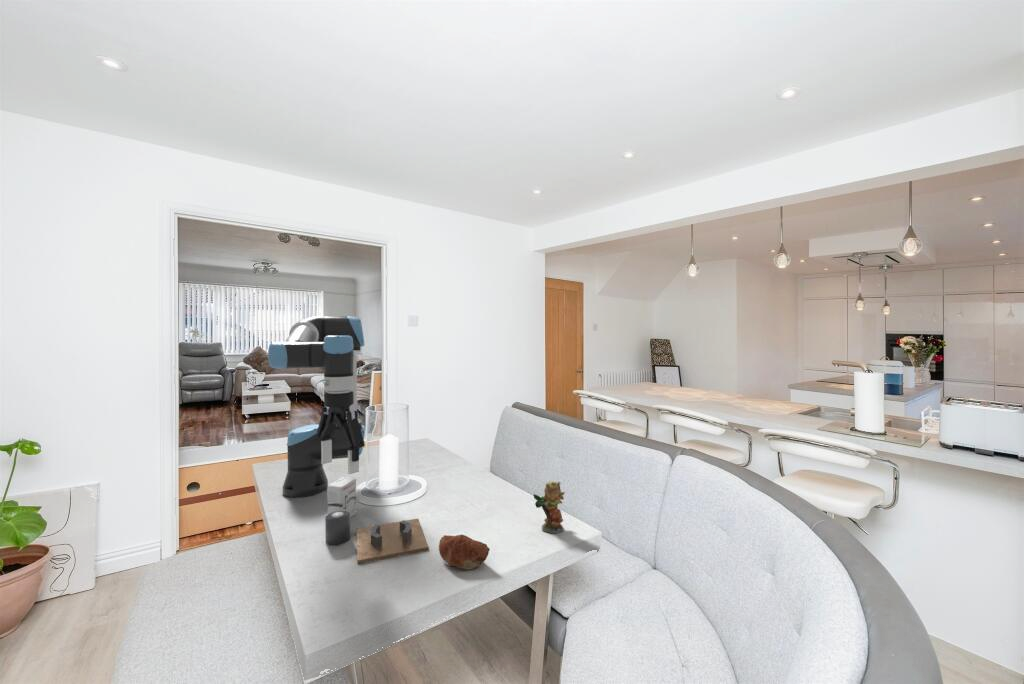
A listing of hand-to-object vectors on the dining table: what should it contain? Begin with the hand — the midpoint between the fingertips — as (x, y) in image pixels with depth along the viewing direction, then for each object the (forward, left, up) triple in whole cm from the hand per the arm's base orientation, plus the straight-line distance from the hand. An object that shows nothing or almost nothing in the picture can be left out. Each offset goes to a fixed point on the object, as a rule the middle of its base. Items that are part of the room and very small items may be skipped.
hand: (339, 467), depth 114 cm
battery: (-3, -1, -22) cm, 22 cm away
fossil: (+21, +29, -22) cm, 42 cm away
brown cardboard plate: (+3, +13, -22) cm, 25 cm away
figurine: (+13, +58, -22) cm, 64 cm away
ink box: (-17, 0, -22) cm, 28 cm away
